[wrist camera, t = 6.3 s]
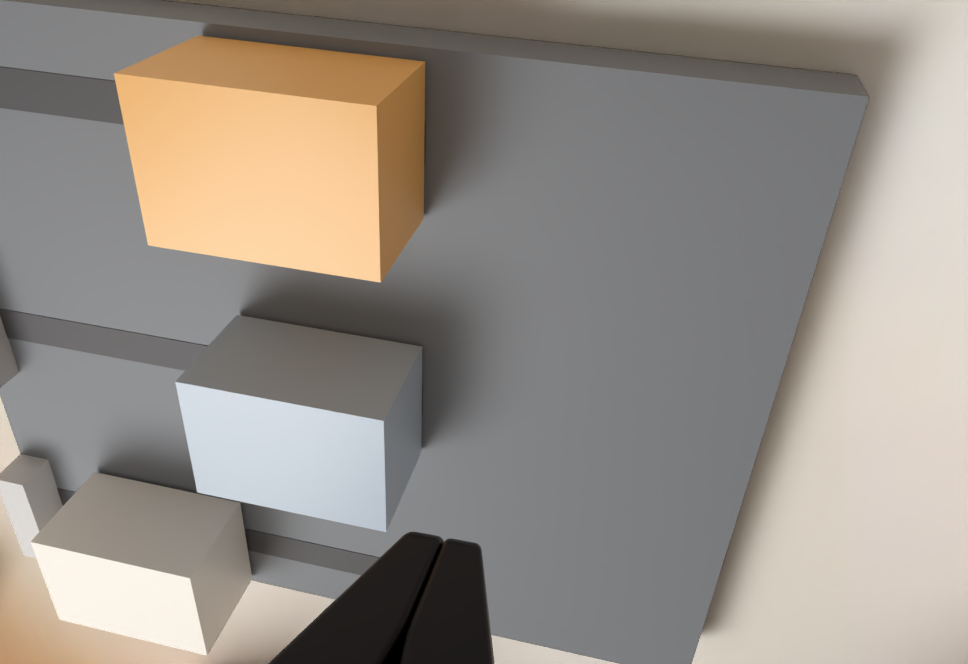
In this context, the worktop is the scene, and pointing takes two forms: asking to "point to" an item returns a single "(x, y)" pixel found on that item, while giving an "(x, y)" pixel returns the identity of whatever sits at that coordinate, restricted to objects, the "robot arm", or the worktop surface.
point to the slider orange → (278, 153)
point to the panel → (448, 304)
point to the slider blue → (304, 420)
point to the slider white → (146, 561)
